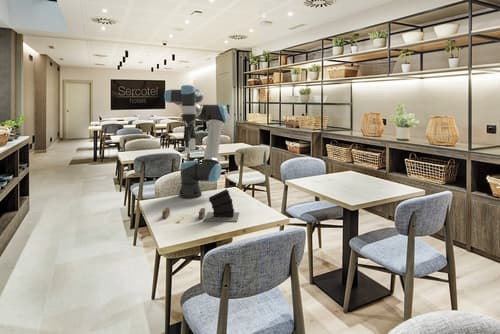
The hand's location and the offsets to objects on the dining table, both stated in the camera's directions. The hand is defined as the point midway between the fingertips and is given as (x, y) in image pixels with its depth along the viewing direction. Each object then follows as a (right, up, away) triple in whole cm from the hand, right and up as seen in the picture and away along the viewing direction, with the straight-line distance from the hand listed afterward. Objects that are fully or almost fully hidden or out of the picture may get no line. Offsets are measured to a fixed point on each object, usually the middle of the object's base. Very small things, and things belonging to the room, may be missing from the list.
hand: (190, 151), depth 198 cm
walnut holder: (-2, -37, -6) cm, 37 cm away
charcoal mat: (+18, -37, -7) cm, 42 cm away
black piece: (+18, -36, -7) cm, 41 cm away
